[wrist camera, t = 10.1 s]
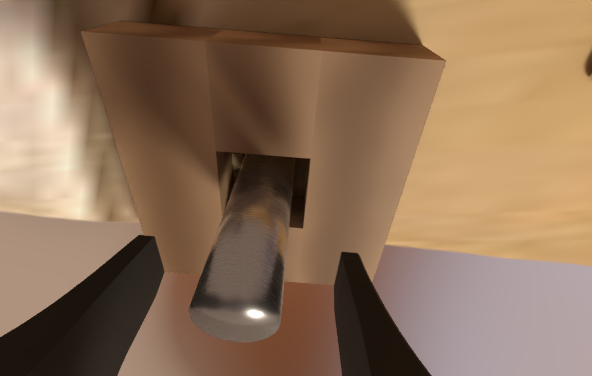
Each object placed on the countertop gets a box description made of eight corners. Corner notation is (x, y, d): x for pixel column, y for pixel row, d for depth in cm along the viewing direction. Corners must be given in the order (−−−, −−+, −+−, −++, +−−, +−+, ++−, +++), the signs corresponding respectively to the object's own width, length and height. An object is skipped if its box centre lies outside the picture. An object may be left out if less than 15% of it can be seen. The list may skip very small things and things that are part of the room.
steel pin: (296, 142, 17) (282, 294, 9) (292, 185, 19) (278, 345, 11) (243, 137, 17) (182, 285, 9) (245, 181, 19) (194, 338, 11)
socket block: (423, 45, 14) (446, 60, 12) (363, 253, 22) (370, 288, 20) (120, 20, 14) (80, 31, 12) (172, 238, 22) (155, 270, 20)
